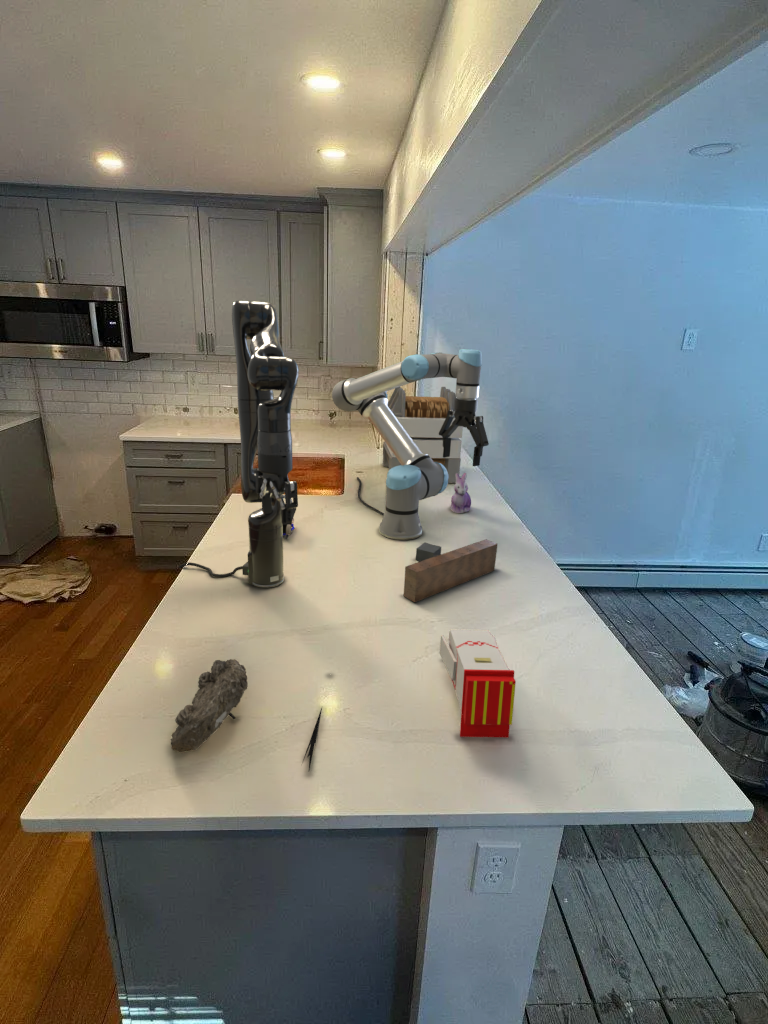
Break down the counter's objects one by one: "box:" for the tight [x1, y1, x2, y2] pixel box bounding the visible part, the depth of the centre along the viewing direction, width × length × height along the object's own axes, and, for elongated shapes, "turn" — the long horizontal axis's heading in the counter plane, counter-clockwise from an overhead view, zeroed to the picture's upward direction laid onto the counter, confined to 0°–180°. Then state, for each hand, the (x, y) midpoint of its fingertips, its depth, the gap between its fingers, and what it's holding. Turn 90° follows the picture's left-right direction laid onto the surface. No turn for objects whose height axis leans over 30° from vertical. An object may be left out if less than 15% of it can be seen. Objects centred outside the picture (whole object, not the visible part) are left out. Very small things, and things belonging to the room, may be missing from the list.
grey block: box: [415, 542, 442, 562], centre depth 180 cm, size 6×6×4 cm
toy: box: [438, 628, 517, 738], centre depth 117 cm, size 12×13×30 cm
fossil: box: [170, 658, 249, 753], centre depth 106 cm, size 22×10×15 cm
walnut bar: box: [403, 538, 498, 603], centre depth 164 cm, size 34×4×9 cm, turn 131°
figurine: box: [449, 472, 472, 514], centre depth 224 cm, size 9×10×15 cm
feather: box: [301, 673, 332, 771], centre depth 108 cm, size 2×28×2 cm
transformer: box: [381, 386, 464, 484], centre depth 268 cm, size 34×33×41 cm
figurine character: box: [283, 507, 297, 540], centre depth 194 cm, size 7×8×15 cm
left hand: (276, 518), depth 130 cm, fingers open, 8 cm apart
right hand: (460, 461), depth 193 cm, fingers open, 13 cm apart
